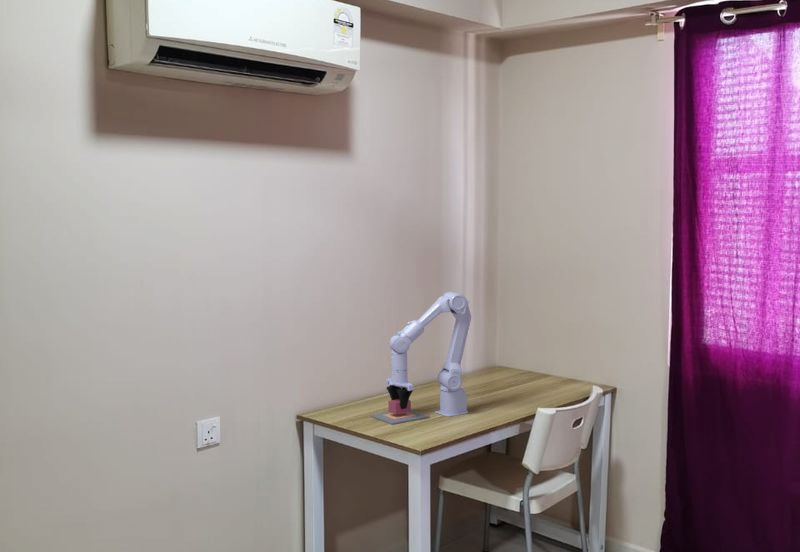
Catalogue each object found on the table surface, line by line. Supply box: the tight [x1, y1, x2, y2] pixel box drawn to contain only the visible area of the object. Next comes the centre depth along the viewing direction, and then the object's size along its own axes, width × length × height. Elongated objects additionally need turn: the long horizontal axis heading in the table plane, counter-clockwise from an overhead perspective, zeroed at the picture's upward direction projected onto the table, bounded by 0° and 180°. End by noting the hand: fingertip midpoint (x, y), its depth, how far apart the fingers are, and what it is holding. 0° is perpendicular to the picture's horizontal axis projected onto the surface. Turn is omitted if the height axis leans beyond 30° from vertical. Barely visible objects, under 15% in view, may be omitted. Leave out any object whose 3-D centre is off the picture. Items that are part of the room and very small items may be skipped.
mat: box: [369, 409, 430, 426], centre depth 285 cm, size 16×14×1 cm
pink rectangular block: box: [387, 399, 412, 414], centre depth 285 cm, size 4×6×4 cm
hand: (399, 407), depth 285 cm, fingers closed on pink rectangular block, 4 cm apart
